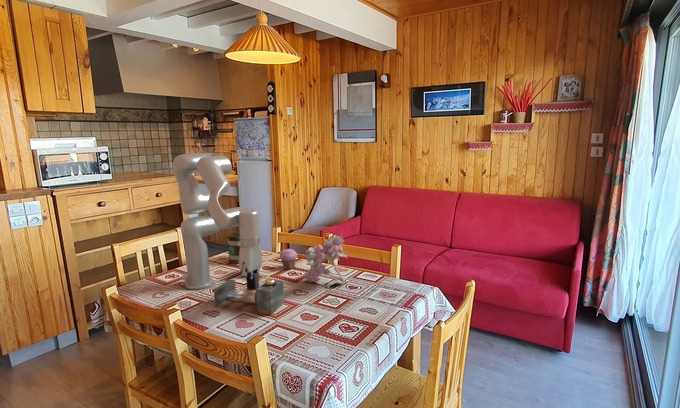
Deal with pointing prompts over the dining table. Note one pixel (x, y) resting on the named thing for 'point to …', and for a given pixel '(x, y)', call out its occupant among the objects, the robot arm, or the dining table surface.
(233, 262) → the mug
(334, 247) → the flower
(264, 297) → the rail base
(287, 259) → the cupcake
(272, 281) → the button
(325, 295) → the dining table surface
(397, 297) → the dining table surface
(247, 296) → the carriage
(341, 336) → the dining table surface
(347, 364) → the dining table surface
